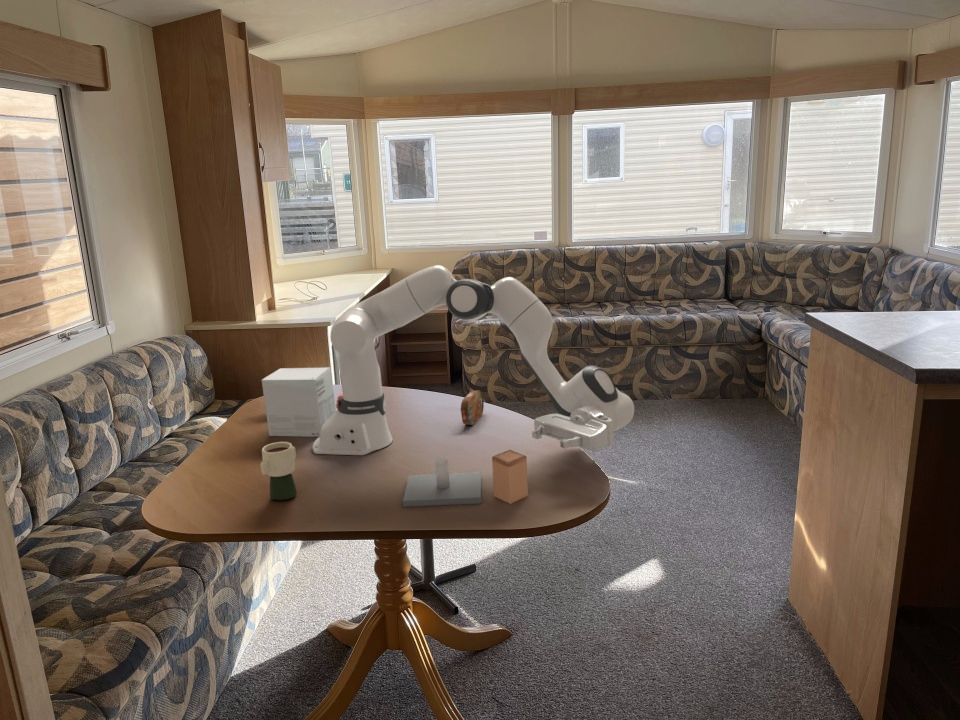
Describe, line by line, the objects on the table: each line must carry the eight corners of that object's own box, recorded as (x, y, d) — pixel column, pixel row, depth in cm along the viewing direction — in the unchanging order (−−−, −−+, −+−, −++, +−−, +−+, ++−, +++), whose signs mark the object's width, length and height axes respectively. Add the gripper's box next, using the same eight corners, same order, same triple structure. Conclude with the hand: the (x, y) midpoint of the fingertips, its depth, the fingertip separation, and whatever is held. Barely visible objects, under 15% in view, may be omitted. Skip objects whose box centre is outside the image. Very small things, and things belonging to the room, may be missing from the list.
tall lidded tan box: (510, 503, 161) (508, 463, 158) (494, 496, 165) (492, 456, 162) (528, 495, 164) (526, 456, 161) (511, 488, 168) (509, 449, 166)
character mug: (289, 485, 177) (282, 437, 173) (310, 490, 173) (304, 441, 170) (256, 503, 168) (248, 453, 164) (278, 509, 164) (270, 457, 161)
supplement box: (338, 422, 221) (332, 366, 216) (322, 437, 208) (315, 379, 204) (287, 421, 224) (279, 367, 219) (268, 437, 211) (259, 379, 207)
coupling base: (403, 506, 162) (399, 470, 160) (409, 480, 176) (406, 447, 173) (481, 503, 162) (478, 467, 159) (481, 477, 175) (479, 443, 173)
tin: (470, 429, 208) (468, 402, 206) (460, 428, 209) (458, 401, 207) (485, 412, 222) (483, 386, 220) (475, 411, 223) (474, 386, 221)
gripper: (555, 404, 185) (517, 418, 176) (617, 421, 169) (579, 437, 161) (556, 426, 186) (519, 442, 178) (618, 445, 171) (580, 463, 163)
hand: (548, 440), depth 169 cm, fingers open, 8 cm apart
